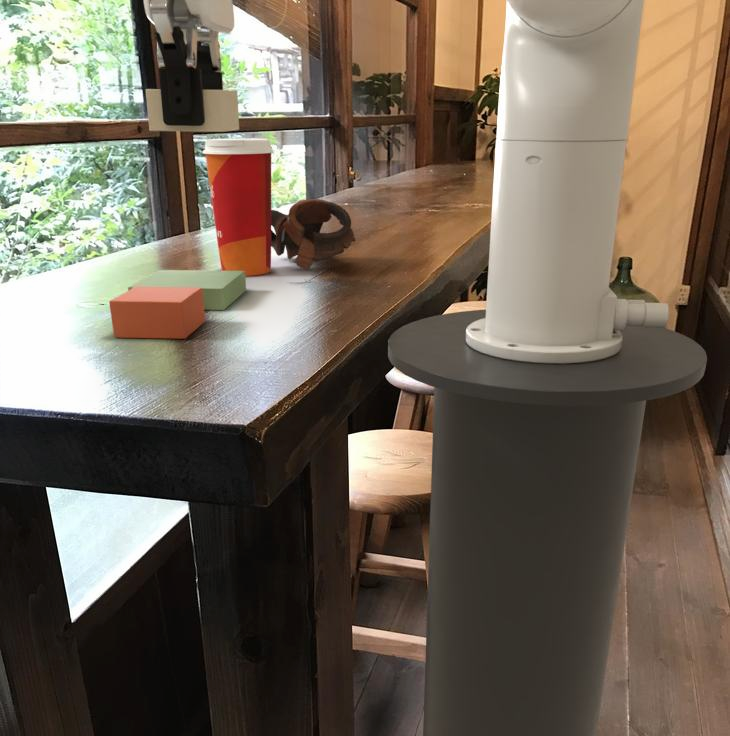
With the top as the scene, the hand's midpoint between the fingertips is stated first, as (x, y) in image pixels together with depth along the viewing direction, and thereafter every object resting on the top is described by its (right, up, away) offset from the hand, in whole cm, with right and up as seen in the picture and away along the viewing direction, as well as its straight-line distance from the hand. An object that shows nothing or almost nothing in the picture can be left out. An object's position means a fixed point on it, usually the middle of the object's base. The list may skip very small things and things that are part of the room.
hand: (195, 122), depth 67 cm
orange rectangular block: (-3, -17, +2) cm, 17 cm away
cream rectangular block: (0, -1, 0) cm, 1 cm away
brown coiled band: (+7, -3, +31) cm, 32 cm away
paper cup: (0, -6, +26) cm, 26 cm away
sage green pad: (-3, -12, +12) cm, 17 cm away
